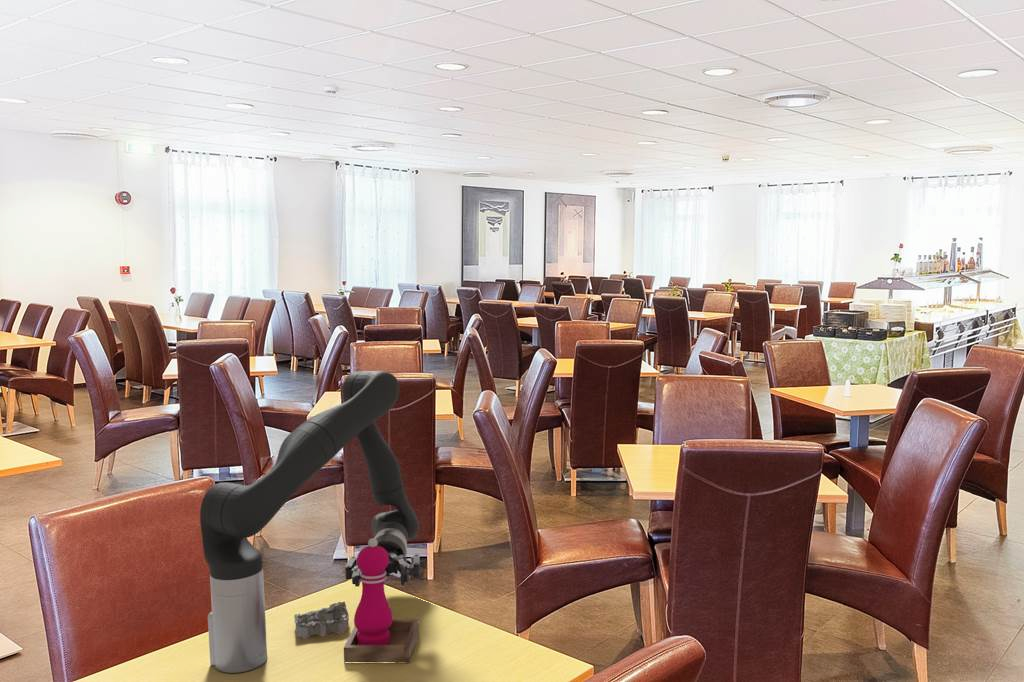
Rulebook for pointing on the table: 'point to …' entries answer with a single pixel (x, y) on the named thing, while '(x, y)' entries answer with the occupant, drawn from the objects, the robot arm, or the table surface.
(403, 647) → the tray
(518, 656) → the table surface
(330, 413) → the robot arm
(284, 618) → the table surface
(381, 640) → the pepper mill
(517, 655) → the table surface
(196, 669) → the table surface
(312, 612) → the egg carton
